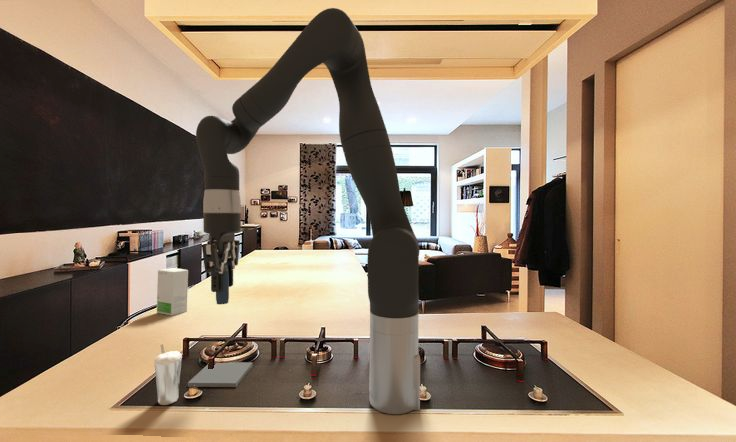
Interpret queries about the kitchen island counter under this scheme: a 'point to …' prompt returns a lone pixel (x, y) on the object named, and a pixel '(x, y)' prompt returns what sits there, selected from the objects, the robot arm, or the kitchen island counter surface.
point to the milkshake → (167, 376)
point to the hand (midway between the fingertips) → (222, 288)
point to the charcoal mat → (221, 375)
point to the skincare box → (172, 291)
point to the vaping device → (224, 287)
